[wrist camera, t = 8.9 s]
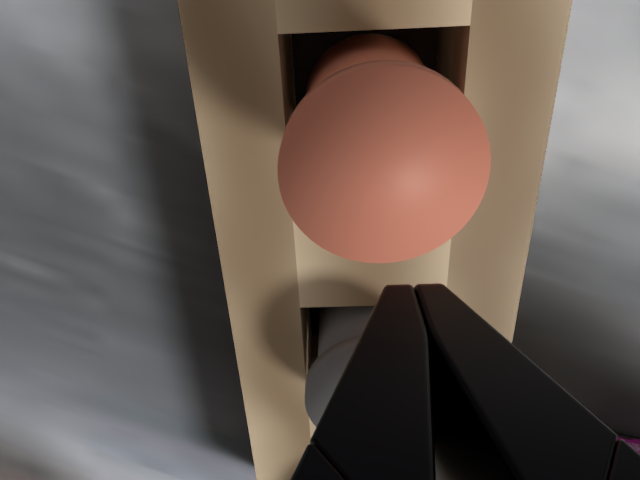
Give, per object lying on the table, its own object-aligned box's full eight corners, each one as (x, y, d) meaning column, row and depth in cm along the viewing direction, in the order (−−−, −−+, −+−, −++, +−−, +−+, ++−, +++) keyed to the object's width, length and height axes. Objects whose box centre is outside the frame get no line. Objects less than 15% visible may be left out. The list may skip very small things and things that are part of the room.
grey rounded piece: (313, 338, 25) (308, 449, 20) (307, 249, 22) (300, 348, 17) (419, 336, 24) (442, 447, 19) (425, 245, 22) (453, 345, 17)
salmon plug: (298, 170, 19) (285, 266, 14) (288, 22, 16) (268, 71, 11) (438, 165, 19) (478, 260, 13) (448, 15, 16) (504, 61, 11)
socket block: (277, 477, 31) (269, 558, 27) (208, -37, 17) (172, -25, 14) (456, 475, 30) (474, 557, 26) (523, -54, 17) (580, -45, 13)
